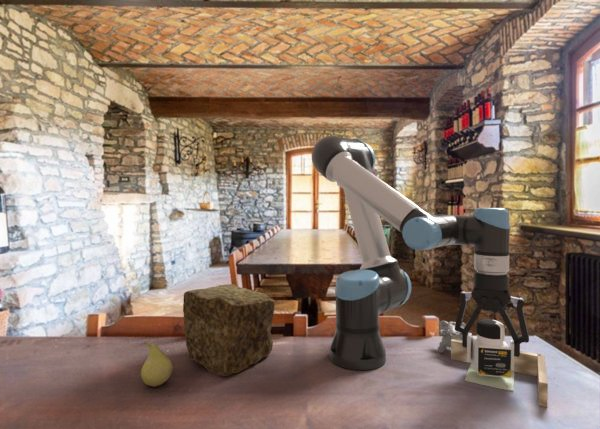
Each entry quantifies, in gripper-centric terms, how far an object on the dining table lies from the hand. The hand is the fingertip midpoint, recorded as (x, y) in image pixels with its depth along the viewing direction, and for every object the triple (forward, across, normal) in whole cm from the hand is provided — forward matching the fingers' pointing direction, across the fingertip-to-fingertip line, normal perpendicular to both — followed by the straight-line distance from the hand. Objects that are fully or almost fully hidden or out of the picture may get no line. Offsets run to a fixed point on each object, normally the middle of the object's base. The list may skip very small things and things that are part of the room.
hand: (490, 364), depth 91 cm
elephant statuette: (+3, -11, +14) cm, 18 cm away
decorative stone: (+3, -62, -24) cm, 66 cm away
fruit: (+3, -67, -44) cm, 80 cm away
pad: (+3, 0, 0) cm, 3 cm away
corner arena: (+3, 0, -1) cm, 3 cm away
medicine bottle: (+2, 0, 0) cm, 2 cm away
